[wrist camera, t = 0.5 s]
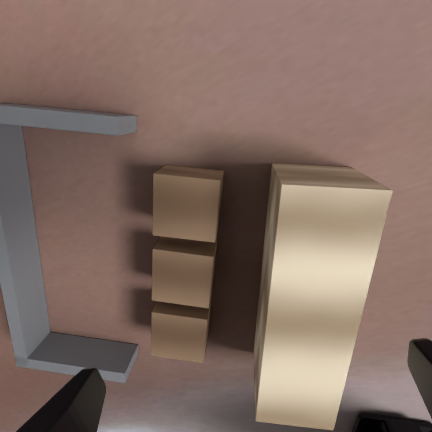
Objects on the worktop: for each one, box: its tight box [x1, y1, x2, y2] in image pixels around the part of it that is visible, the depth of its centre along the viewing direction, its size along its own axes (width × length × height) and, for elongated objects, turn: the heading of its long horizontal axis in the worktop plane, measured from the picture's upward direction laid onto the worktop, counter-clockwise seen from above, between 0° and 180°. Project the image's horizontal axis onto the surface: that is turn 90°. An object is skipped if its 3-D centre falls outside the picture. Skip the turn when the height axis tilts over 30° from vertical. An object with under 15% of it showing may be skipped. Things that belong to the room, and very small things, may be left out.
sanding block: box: [254, 163, 393, 430], centre depth 19 cm, size 16×5×6 cm, turn 178°
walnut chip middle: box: [152, 236, 218, 308], centre depth 21 cm, size 4×4×3 cm
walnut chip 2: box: [151, 296, 212, 363], centre depth 23 cm, size 4×4×3 cm
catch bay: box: [0, 103, 138, 383], centre depth 21 cm, size 20×9×3 cm, turn 175°
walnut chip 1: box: [153, 165, 224, 243], centre depth 19 cm, size 4×4×3 cm
